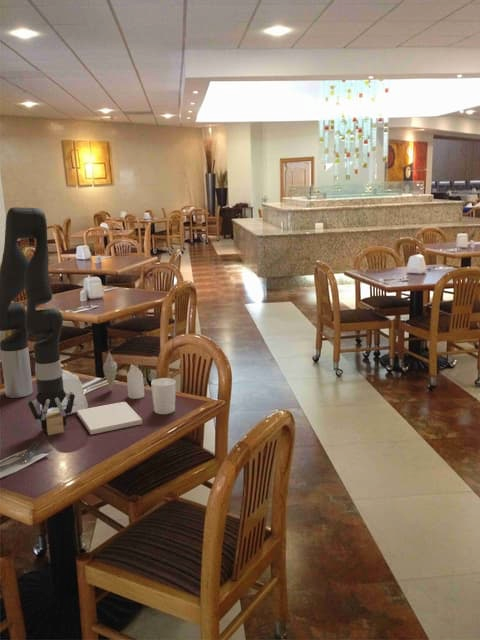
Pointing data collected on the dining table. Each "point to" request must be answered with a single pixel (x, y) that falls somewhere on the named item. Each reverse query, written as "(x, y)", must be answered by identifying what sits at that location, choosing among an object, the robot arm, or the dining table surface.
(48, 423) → the oak block
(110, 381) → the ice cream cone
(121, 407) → the platter
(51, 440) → the dining table surface
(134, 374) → the white pointed crystal
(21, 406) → the dining table surface
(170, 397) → the white cup
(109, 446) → the dining table surface
